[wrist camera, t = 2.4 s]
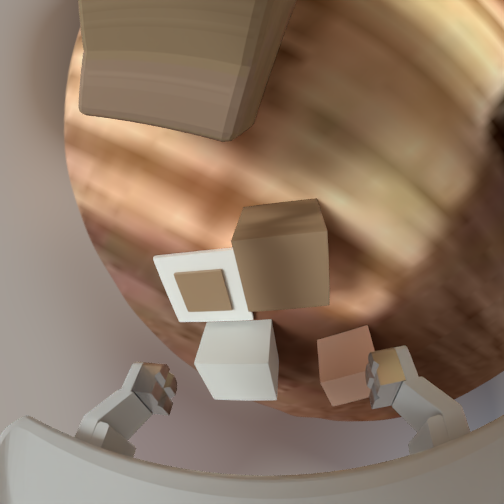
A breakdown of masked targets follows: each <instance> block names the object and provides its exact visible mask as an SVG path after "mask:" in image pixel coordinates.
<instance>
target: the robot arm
mask: <svg viewBox="0 0 504 504" xmlns="http://www.w3.org/2000/svg"><path fill="white" fill-rule="evenodd" d="M368 361H369V363H368V364H367V365H366V370H365V377H366V384H367V387H368V388H370V389H371V391H370V394H369V398H370V402H371V407H372V409H375V408H380V407H386V406H391V405H392V407H393V408H394V409H395V410H396V411H397V412H398V413H399V414H400V415H401V416H402V417H403V418H404V419H405V420H406V421H407V423H409V425H410V426H411V427H412V428H413V429H414V430H415V431H416V432H417V434H416V435H415V436H414V438H413V439H412V440H411V441H410V443H409V444H408V446H409V452H410V455H408V456H405V457H401V458H398V459H394V460H390V461H386V462H382V463H378V464H373V465H368V466H363V467H358V468H352V469H346V470H340V471H332V472H324V473H314V474H301V475H282V476H281V475H280V476H279V475H278V476H258V475H257V476H256V475H255V476H254V475H233V474H221V473H211V472H203V471H196V470H189V469H183V468H177V467H172V466H166V465H161V464H157V463H153V462H148V461H144V460H140V459H136V458H133V457H134V454H135V450H136V448H135V446H134V445H133V444H131V443H130V442H129V441H128V440H129V439H130V438H131V437H132V435H133V434H134V433H135V432H136V431H137V430H138V429H139V428H140V427H141V426H142V425H143V424H144V423H145V422H146V421H147V420H148V419H149V418H150V417H151V416H152V415H153V414H160V415H169V414H170V411H171V408H172V405H173V402H172V400H171V398H172V397H174V396H175V394H176V391H177V382H176V378H175V377H174V375H173V374H171V373H169V370H170V369H169V367H168V366H167V364H155V363H145V362H134V363H133V364H132V366H131V369H130V371H129V373H128V375H127V377H126V379H125V382H124V384H123V386H122V388H121V390H117V391H116V392H114V393H113V394H112V395H111V396H110V397H108V398H107V399H105V400H104V401H103V402H102V403H100V404H99V405H97V406H96V407H95V408H94V409H92V410H91V411H90V412H88V413H87V414H86V415H84V417H83V419H82V422H81V424H80V426H79V428H78V431H77V433H76V435H75V437H72V436H70V435H68V434H65V433H63V432H61V431H59V430H57V429H54V428H52V427H50V426H48V425H46V424H44V423H42V422H40V421H38V420H37V419H35V418H33V417H31V416H24V417H21V418H20V419H18V420H17V421H15V422H13V423H12V424H10V425H9V426H7V427H6V428H5V429H4V431H3V432H2V434H1V435H0V504H504V415H503V416H501V417H499V418H497V419H495V420H494V421H492V422H490V423H488V424H486V425H484V426H482V427H480V428H478V429H476V430H474V431H472V432H470V429H469V426H468V423H467V420H466V417H465V414H464V411H463V409H462V406H461V405H460V404H459V403H457V402H456V401H455V400H453V399H452V398H451V397H449V396H448V395H447V394H445V393H444V392H443V391H441V390H440V389H438V388H437V387H436V386H434V385H433V384H432V383H430V382H429V381H428V380H426V379H425V378H424V377H419V376H418V373H417V371H416V368H415V365H414V363H413V360H412V358H411V355H410V353H409V350H408V348H407V346H405V345H404V346H400V347H395V348H389V349H384V350H379V351H374V352H370V353H369V355H368Z"/></svg>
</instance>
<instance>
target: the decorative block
mask: <svg viewBox="0 0 504 504" xmlns="http://www.w3.org/2000/svg"><path fill="white" fill-rule="evenodd" d="M296 1H297V0H78V4H79V17H80V26H81V35H82V42H83V49H84V53H83V60H82V68H81V78H80V91H79V110H80V112H81V113H83V114H85V115H89V116H97V117H105V118H112V119H118V120H124V121H130V122H136V123H142V124H147V125H152V126H158V127H162V128H167V129H172V130H177V131H181V132H185V133H190V134H194V135H198V136H202V137H206V138H210V139H214V140H218V141H221V142H225V141H232V140H233V139H235V138H236V137H237V136H239V135H240V134H242V133H243V132H245V131H246V130H247V129H249V128H250V127H251V126H252V125H253V124H254V121H255V118H256V115H257V112H258V109H259V105H260V102H261V99H262V96H263V93H264V90H265V87H266V84H267V81H268V78H269V75H270V73H271V70H272V67H273V64H274V61H275V58H276V55H277V52H278V50H279V47H280V44H281V41H282V38H283V36H284V33H285V30H286V27H287V25H288V22H289V19H290V17H291V14H292V11H293V9H294V6H295V3H296Z"/></svg>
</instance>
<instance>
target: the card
mask: <svg viewBox="0 0 504 504" xmlns="http://www.w3.org/2000/svg"><path fill="white" fill-rule="evenodd" d="M153 260H154V263H155V265H156V268H157V270H158V273H159V275H160V278H161V280H162V283H163V285H164V288H165V290H166V292H167V295H168V297H169V299H170V302H171V304H172V306H173V309H174V311H175V313H176V315H177V318H178V320H179V322H211V321H240V320H253V318H254V316H253V312H248V308H247V304H246V300H245V296H244V292H243V288H242V284H241V280H240V276H239V271H238V267H237V263H236V259H235V255H234V251H233V247H232V248H223V249H213V250H204V251H195V252H185V253H176V254H167V255H158V256H154V258H153Z"/></svg>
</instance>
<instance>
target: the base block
mask: <svg viewBox="0 0 504 504" xmlns="http://www.w3.org/2000/svg"><path fill="white" fill-rule="evenodd" d="M194 364H195V366H196V368H197V370H198V372H199V373H200V375H201V377H202V379H203V381H204V382H205V384H206V386H207V388H208V389H209V391H210V393H211V394H212V396H213V398H214V399H219V400H277V388H278V369H279V358H278V352H277V347H276V341H275V336H274V330H273V325H272V319H269V320H253V321H232V322H207V324H206V327H205V330H204V333H203V336H202V339H201V343H200V346H199V349H198V352H197V356H196V359H195V362H194Z"/></svg>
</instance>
